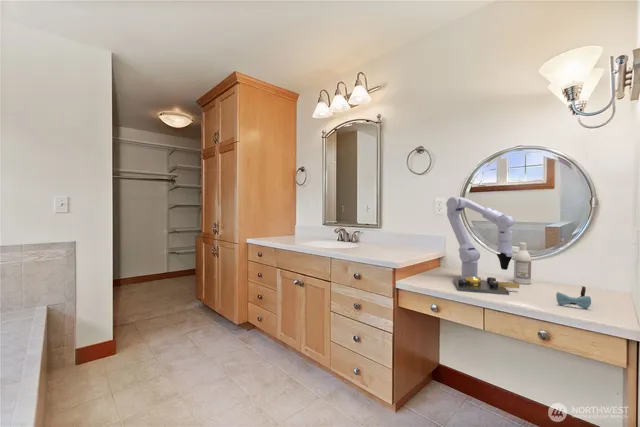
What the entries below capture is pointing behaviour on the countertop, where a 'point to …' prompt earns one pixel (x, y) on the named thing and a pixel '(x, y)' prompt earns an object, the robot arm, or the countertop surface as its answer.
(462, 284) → the plate
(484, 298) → the countertop surface
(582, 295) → the compass
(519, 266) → the bath foam
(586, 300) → the bow tie
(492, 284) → the wooden stick
